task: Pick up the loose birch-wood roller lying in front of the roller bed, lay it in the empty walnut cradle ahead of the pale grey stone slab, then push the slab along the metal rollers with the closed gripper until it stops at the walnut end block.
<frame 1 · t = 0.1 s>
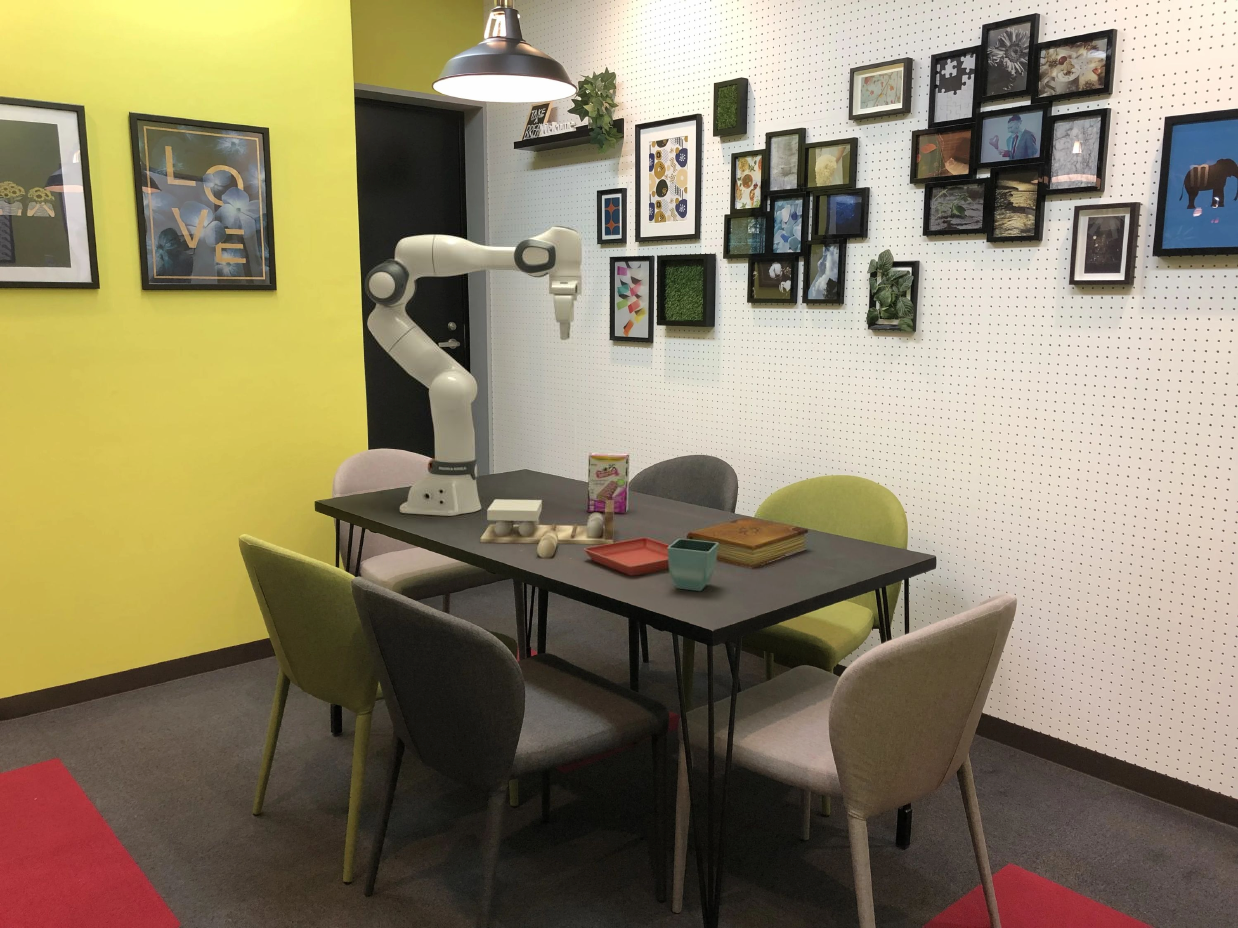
hand: (565, 339, 254), 48 cm above the table, fingers open, 8 cm apart
diary: (747, 554, 220), on the table
flower pot: (692, 588, 191), on the table
candy bar box: (608, 512, 262), on the table
slab: (515, 509, 232), point 7 cm above the table, slide at 0.0 cm
roller: (548, 552, 218), on the table
roller bed: (549, 536, 233), on the table
plant saucer: (637, 565, 209), on the table
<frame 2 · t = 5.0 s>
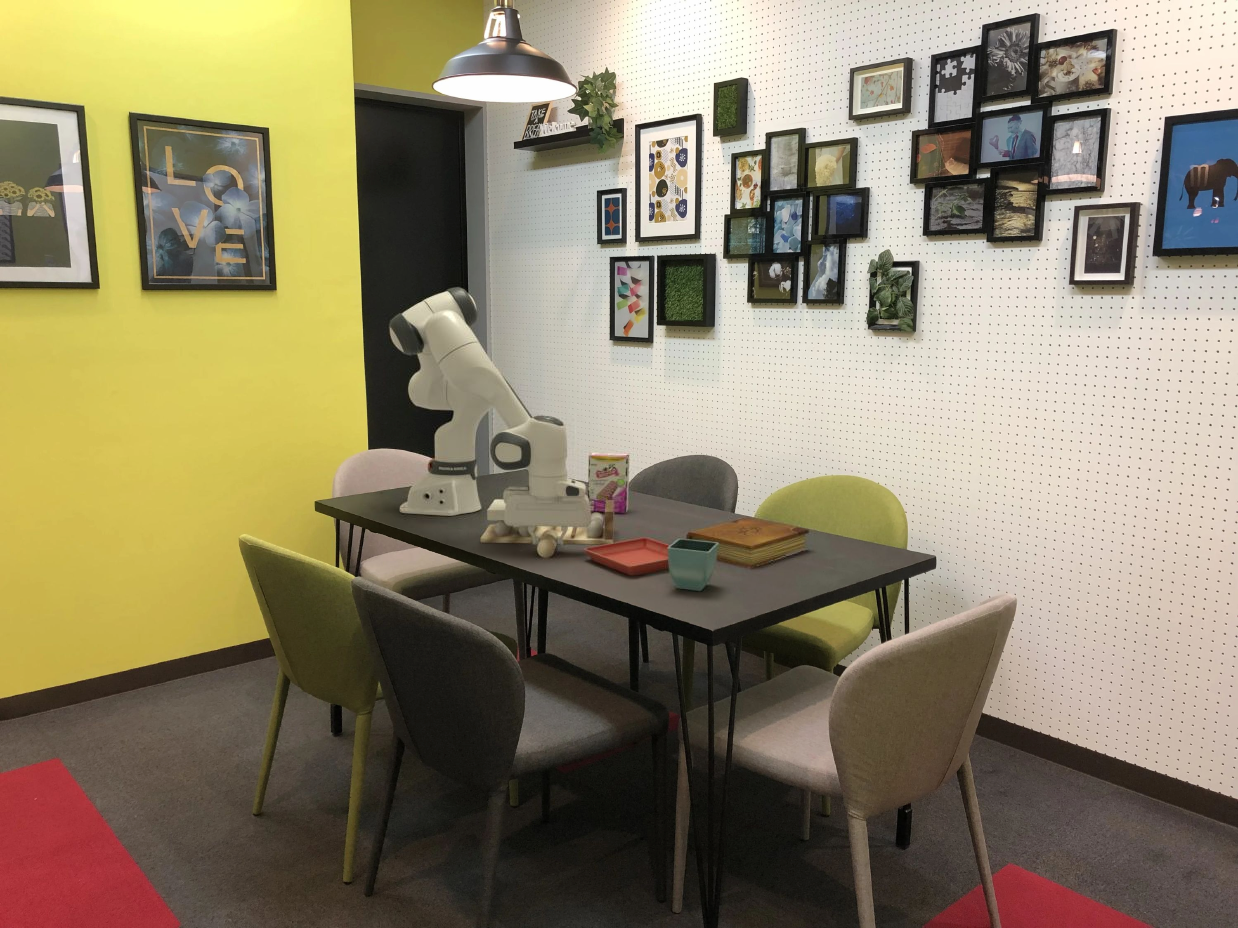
hand: (548, 544, 217), 2 cm above the table, fingers closed on roller, 4 cm apart
roller: (548, 551, 218), on the table, touching gripper
everything else where it was.
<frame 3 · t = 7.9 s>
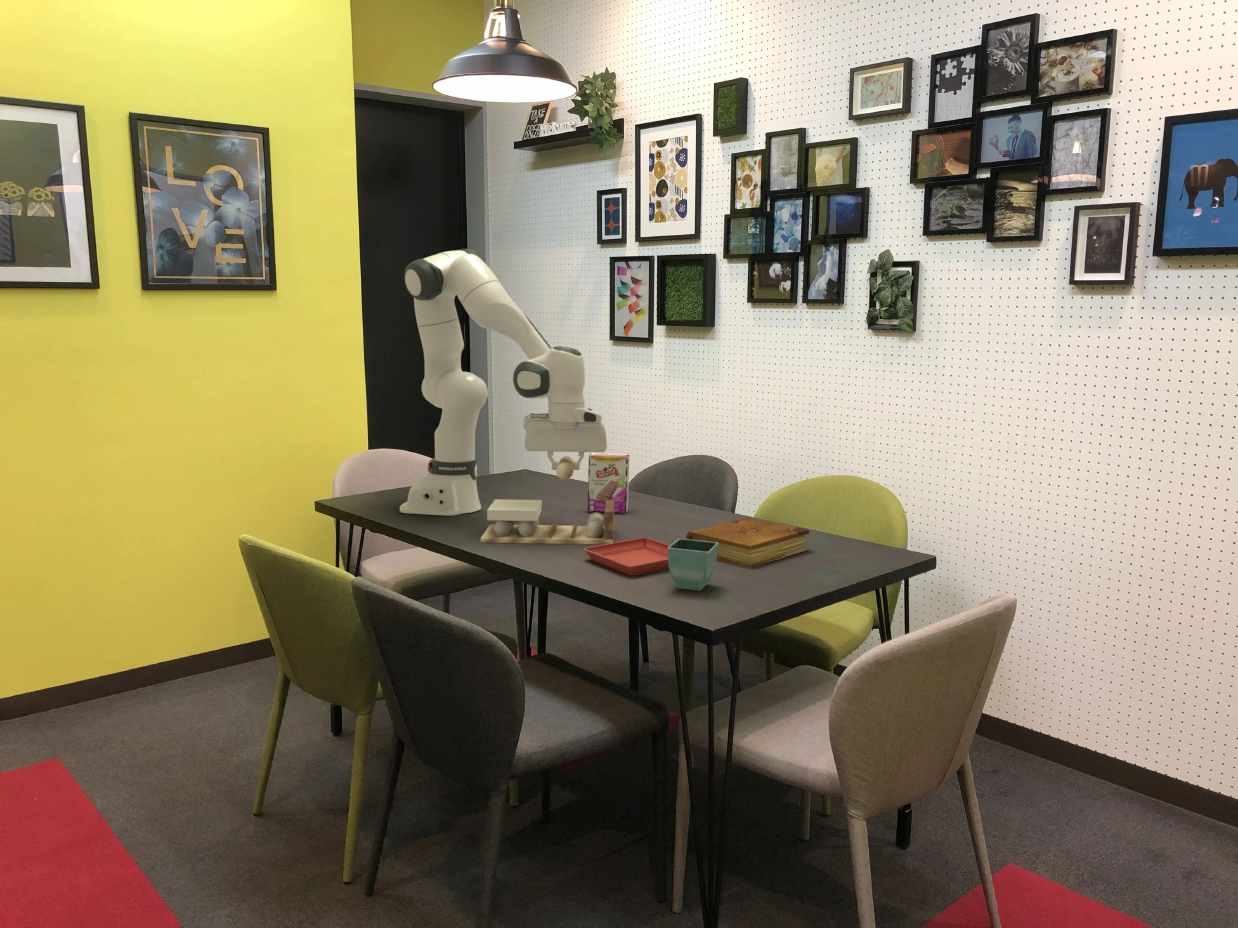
hand: (565, 469, 230), 17 cm above the table, fingers closed on roller, 4 cm apart
roller: (566, 475, 230), point 15 cm above the table, touching gripper
everything else where it was.
when the fingers open (5 cm above the table, at t = 10.8 s): roller drops 2 cm, resting on roller bed.
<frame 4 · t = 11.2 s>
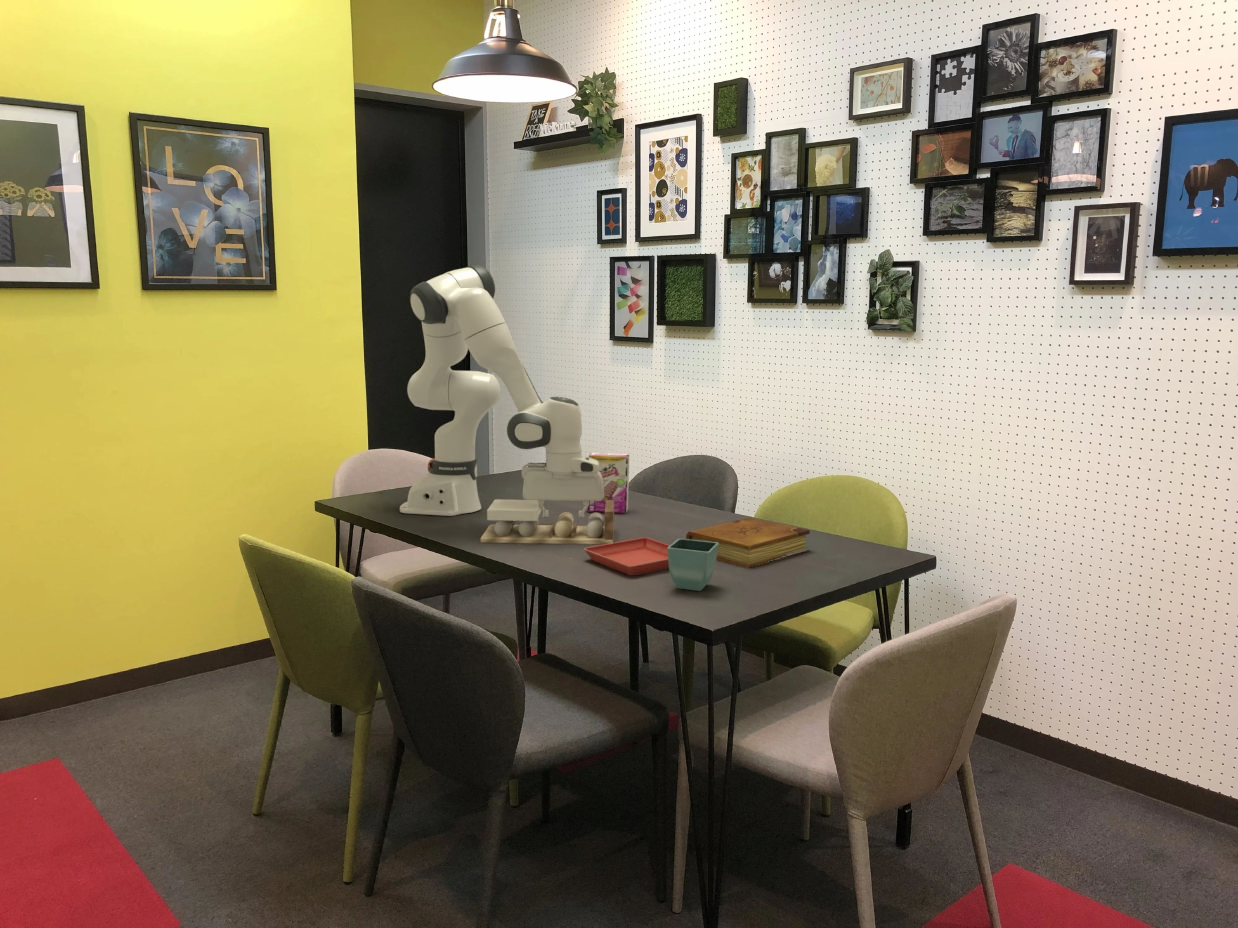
hand: (563, 517, 232), 5 cm above the table, fingers open, 8 cm apart
slab: (515, 509, 232), point 7 cm above the table, slide at 0.0 cm, touching gripper
roller: (563, 532, 232), point 1 cm above the table, tilted 8°, touching roller bed
everything else where it was.
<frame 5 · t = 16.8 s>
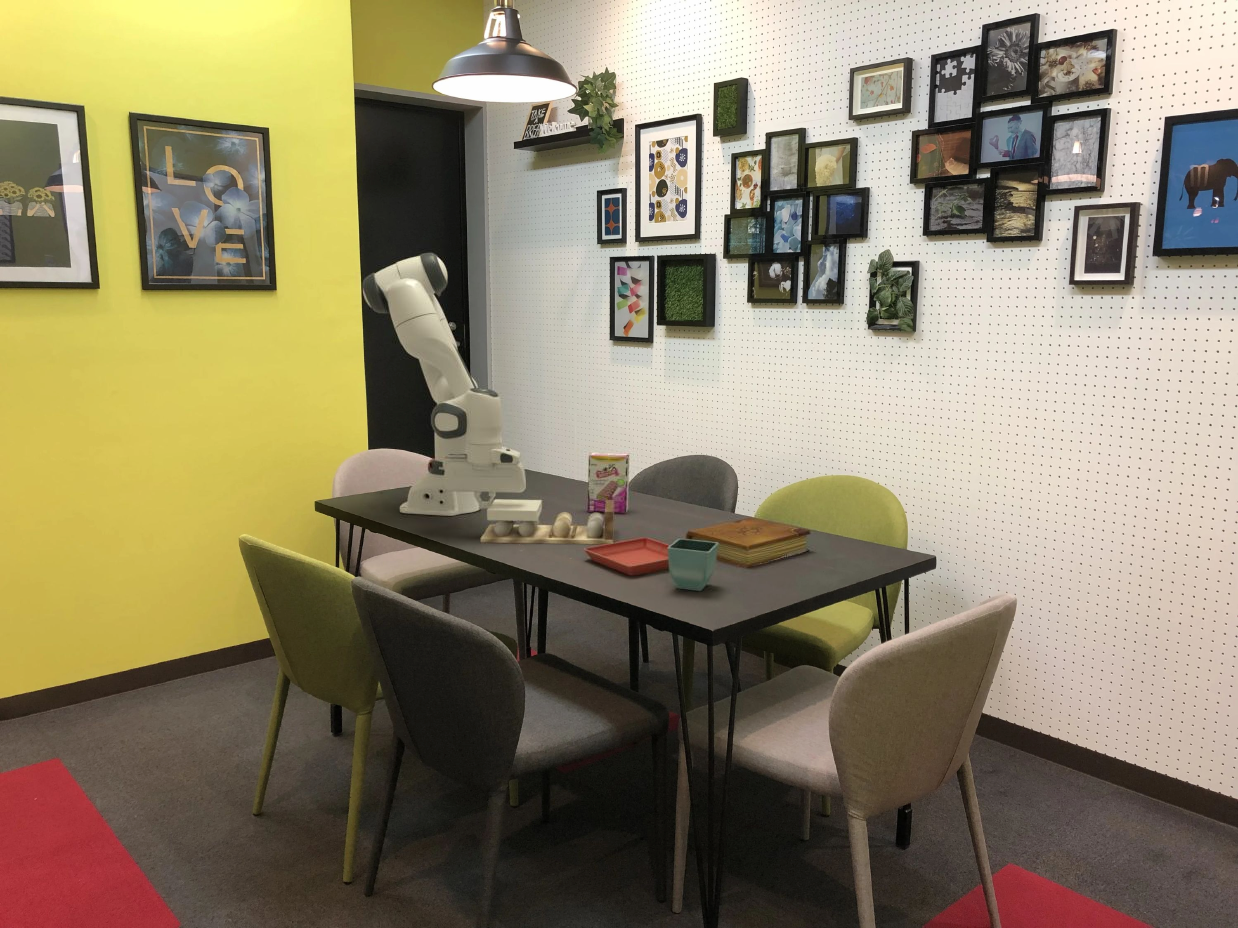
hand: (485, 509, 232), 7 cm above the table, fingers closed
roller: (563, 532, 232), point 1 cm above the table, touching roller bed
everything else where it was.
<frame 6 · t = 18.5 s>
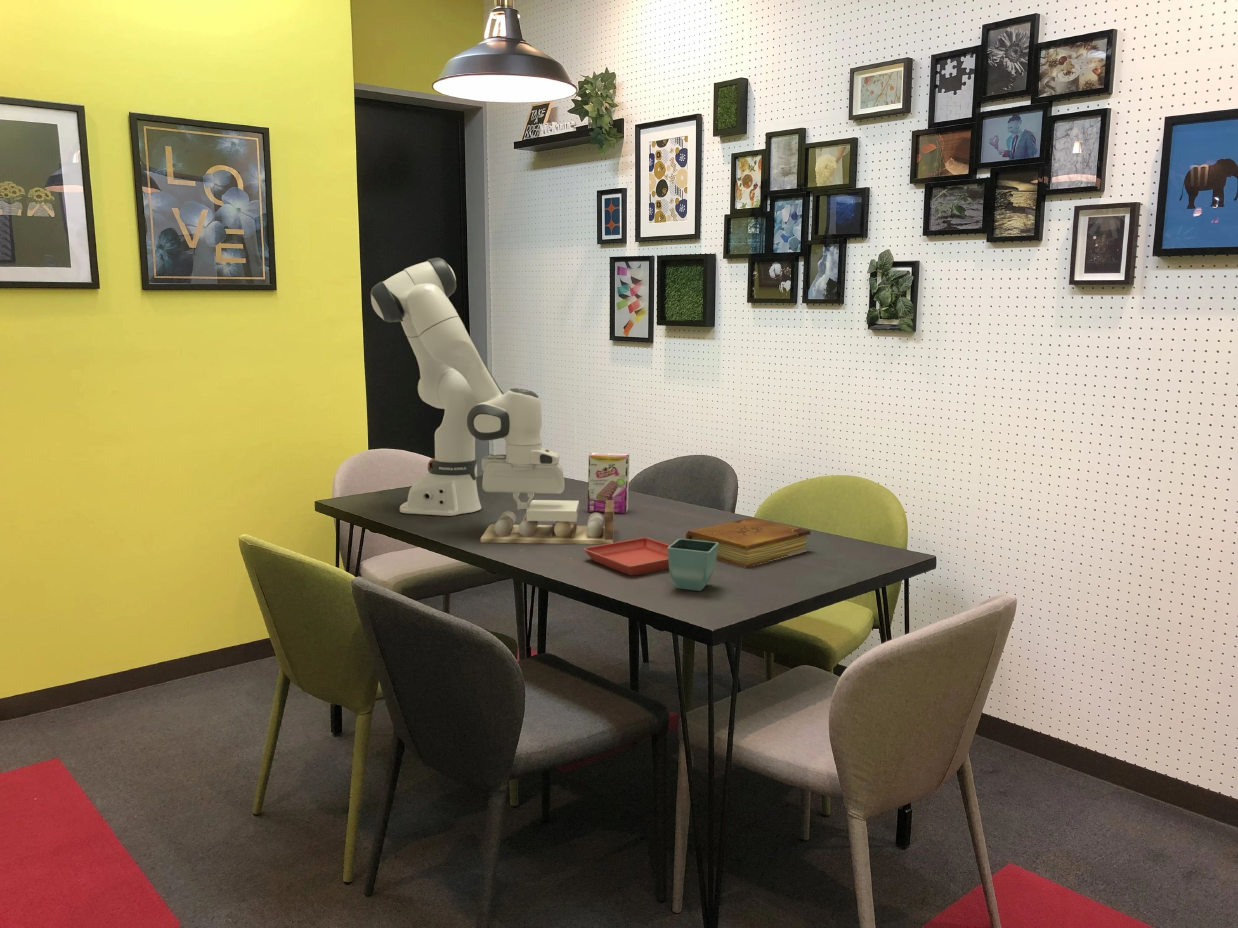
hand: (523, 510, 231), 7 cm above the table, fingers closed
slab: (553, 510, 232), point 7 cm above the table, slide at 9.6 cm, touching gripper
everything else where it was.
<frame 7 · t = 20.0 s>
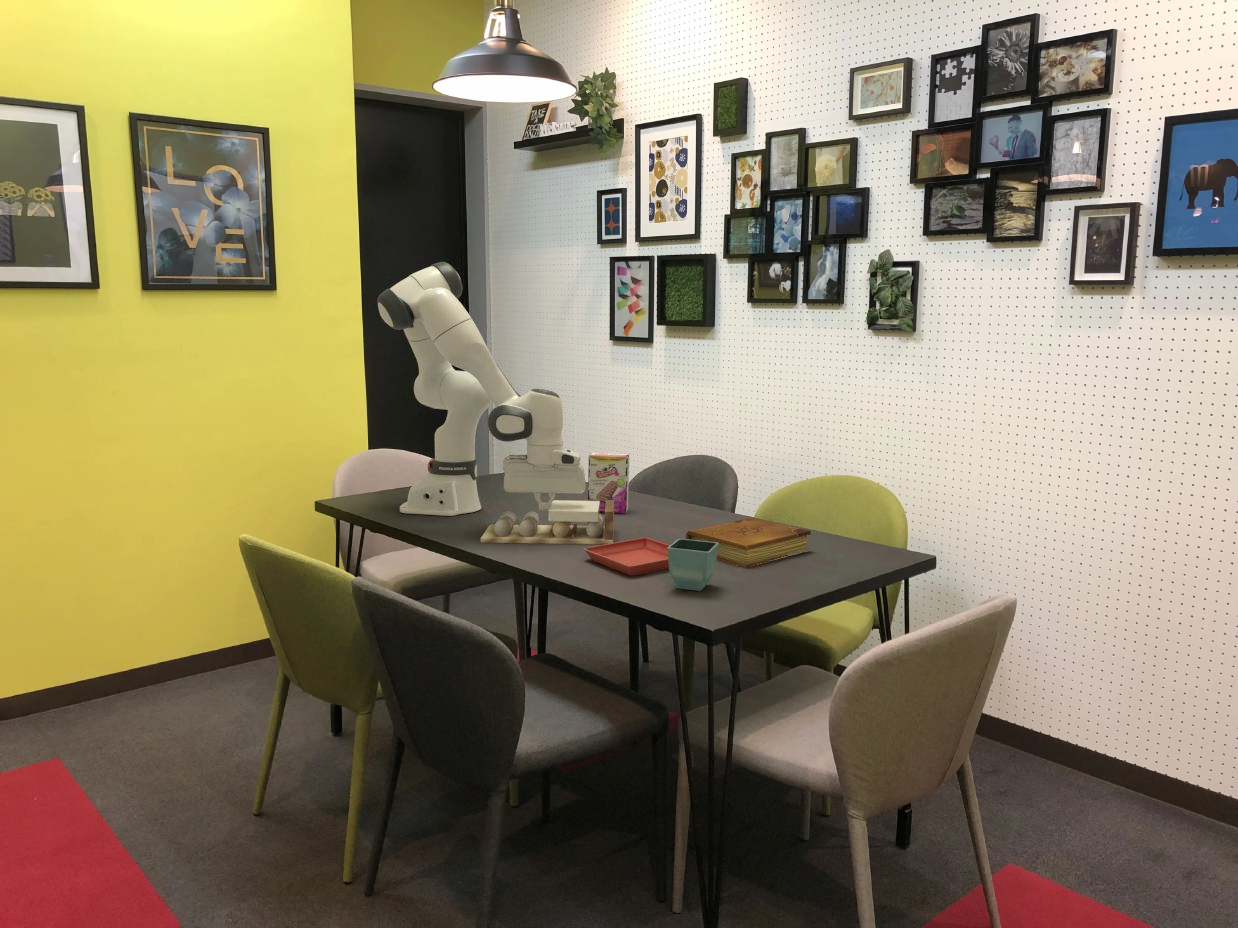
hand: (544, 510, 231), 7 cm above the table, fingers closed
slab: (574, 510, 231), point 7 cm above the table, slide at 14.8 cm, touching gripper
everything else where it was.
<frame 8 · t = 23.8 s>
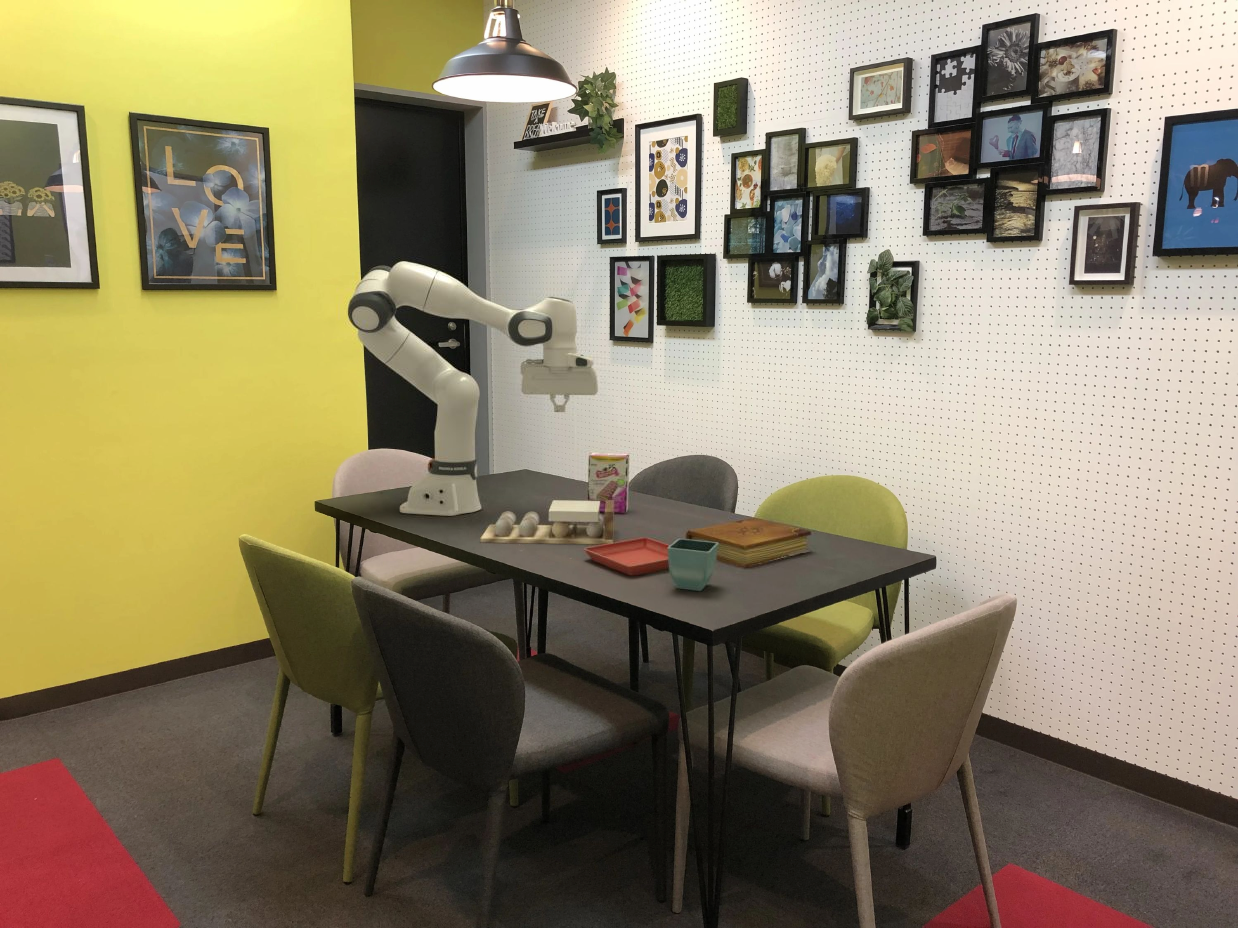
hand: (559, 411, 248), 29 cm above the table, fingers closed
slab: (575, 510, 231), point 7 cm above the table, slide at 14.9 cm
at the end: slab slide at 14.9 cm; roller 0.0 cm from the target spot on the roller bed, point 1.0 cm above the roller bed's base; the gripper is holding nothing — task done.
